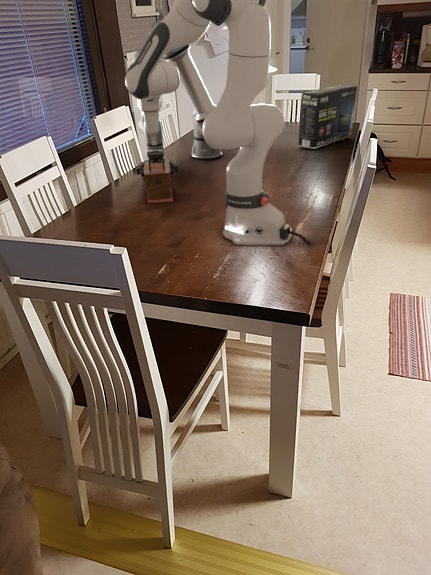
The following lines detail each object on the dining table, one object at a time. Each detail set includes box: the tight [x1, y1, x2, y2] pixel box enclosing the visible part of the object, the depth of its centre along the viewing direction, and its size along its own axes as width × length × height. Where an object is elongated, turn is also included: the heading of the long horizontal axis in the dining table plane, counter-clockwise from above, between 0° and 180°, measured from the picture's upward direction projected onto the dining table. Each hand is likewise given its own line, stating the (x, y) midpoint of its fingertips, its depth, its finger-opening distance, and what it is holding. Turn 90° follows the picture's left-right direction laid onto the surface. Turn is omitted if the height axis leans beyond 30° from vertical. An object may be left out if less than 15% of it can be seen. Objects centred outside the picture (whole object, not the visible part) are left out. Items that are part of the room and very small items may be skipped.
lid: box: [143, 150, 171, 178], centre depth 175 cm, size 14×10×8 cm
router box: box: [297, 84, 358, 151], centre depth 238 cm, size 36×11×27 cm, turn 134°
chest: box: [144, 175, 174, 204], centre depth 180 cm, size 14×10×10 cm
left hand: (157, 175), depth 183 cm, fingers closed on chest, 10 cm apart
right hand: (154, 141), depth 168 cm, fingers open, 8 cm apart
